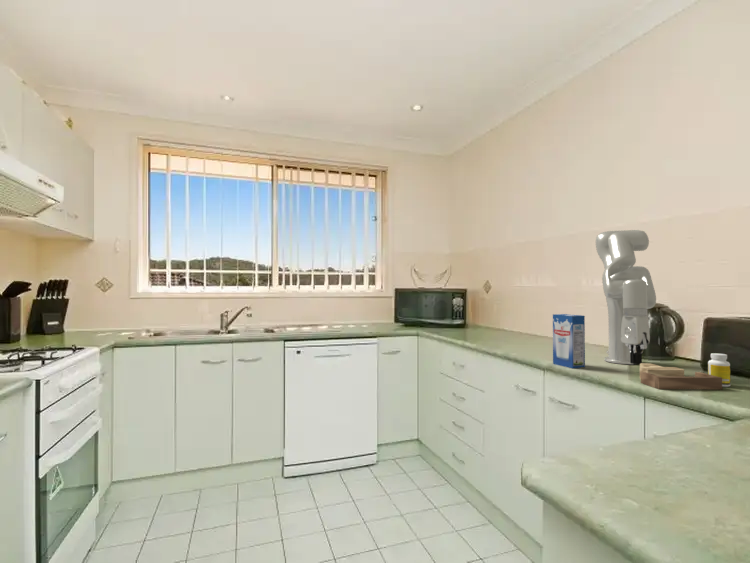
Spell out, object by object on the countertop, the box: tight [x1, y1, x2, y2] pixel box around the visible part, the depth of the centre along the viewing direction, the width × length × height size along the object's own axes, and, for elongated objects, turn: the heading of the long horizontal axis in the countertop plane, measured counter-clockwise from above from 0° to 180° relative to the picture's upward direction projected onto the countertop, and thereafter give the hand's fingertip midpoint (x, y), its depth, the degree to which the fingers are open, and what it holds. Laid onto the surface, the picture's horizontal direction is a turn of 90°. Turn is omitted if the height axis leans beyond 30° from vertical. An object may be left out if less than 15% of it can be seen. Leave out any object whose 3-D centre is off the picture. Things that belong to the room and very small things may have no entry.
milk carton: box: [552, 313, 586, 369], centre depth 159 cm, size 10×6×20 cm, turn 20°
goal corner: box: [640, 371, 723, 390], centre depth 126 cm, size 8×19×4 cm, turn 90°
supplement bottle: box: [707, 352, 731, 388], centre depth 127 cm, size 5×5×10 cm
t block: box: [639, 362, 685, 380], centre depth 137 cm, size 10×12×4 cm
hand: (636, 363), depth 147 cm, fingers closed
